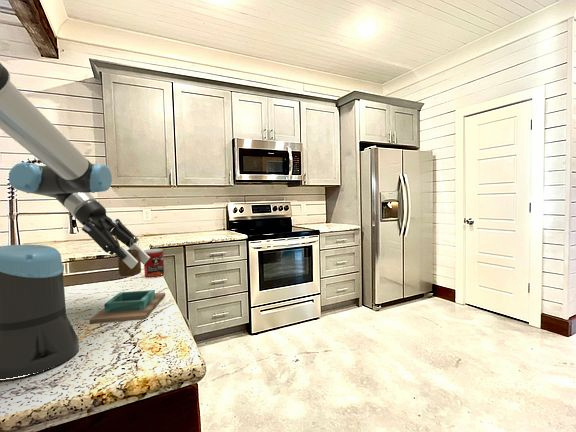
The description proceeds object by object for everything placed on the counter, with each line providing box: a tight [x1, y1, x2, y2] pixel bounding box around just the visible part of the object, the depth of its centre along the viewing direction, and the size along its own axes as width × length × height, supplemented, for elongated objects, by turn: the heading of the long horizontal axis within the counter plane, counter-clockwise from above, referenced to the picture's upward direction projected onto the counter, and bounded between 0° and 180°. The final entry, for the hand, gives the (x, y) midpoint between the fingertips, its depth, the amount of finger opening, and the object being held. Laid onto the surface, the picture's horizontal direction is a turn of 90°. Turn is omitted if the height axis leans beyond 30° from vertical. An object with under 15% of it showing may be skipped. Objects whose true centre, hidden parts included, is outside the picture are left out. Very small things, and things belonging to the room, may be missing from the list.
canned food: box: [143, 248, 165, 278], centre depth 130 cm, size 8×8×11 cm
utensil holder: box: [113, 236, 142, 277], centre depth 91 cm, size 6×6×12 cm
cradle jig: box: [89, 289, 166, 324], centre depth 92 cm, size 20×14×4 cm
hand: (140, 262), depth 91 cm, fingers closed on utensil holder, 5 cm apart
